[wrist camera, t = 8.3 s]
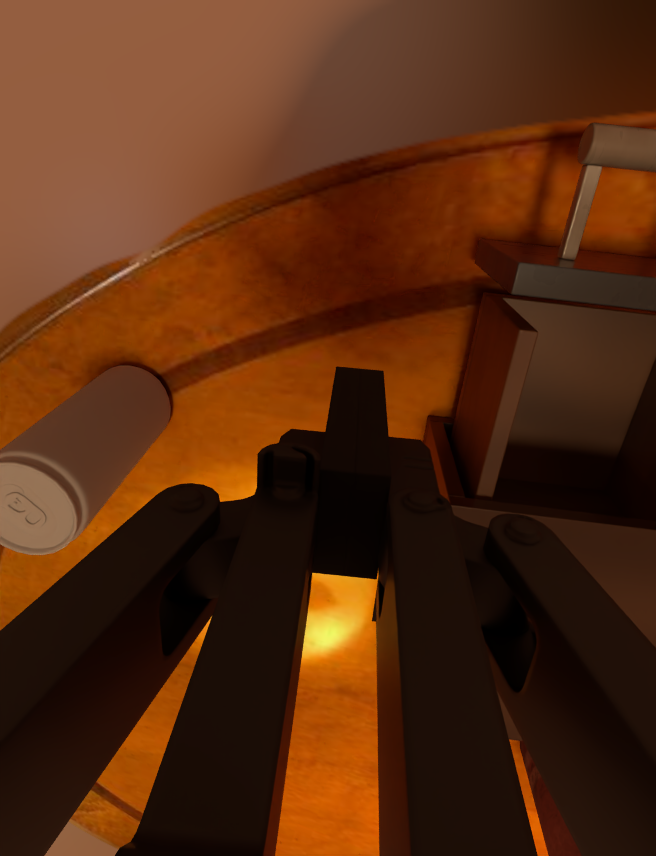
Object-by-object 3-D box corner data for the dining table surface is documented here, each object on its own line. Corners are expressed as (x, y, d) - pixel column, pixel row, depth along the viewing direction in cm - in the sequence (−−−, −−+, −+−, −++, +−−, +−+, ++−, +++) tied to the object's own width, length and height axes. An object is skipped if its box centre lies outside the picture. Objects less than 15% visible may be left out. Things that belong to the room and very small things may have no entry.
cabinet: (428, 415, 32) (450, 504, 23) (640, 440, 32) (742, 541, 23) (391, 600, 38) (397, 725, 30) (567, 622, 38) (626, 755, 29)
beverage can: (132, 345, 31) (9, 437, 20) (191, 406, 33) (104, 521, 22) (81, 392, 33) (-60, 500, 22) (138, 448, 34) (33, 575, 23)
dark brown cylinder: (615, 726, 42) (721, 962, 30) (563, 768, 45) (640, 1002, 32) (552, 697, 41) (633, 928, 29) (503, 742, 44) (557, 972, 31)
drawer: (503, 126, 25) (557, 107, 18) (753, 153, 24) (910, 146, 17) (429, 471, 33) (446, 554, 25) (617, 494, 32) (686, 584, 25)
